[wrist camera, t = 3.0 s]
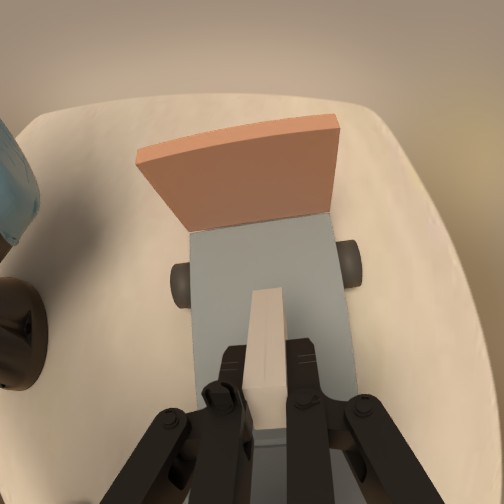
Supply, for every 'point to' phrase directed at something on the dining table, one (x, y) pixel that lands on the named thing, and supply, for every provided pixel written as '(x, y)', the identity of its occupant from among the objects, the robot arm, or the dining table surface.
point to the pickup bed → (297, 318)
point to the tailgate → (246, 171)
